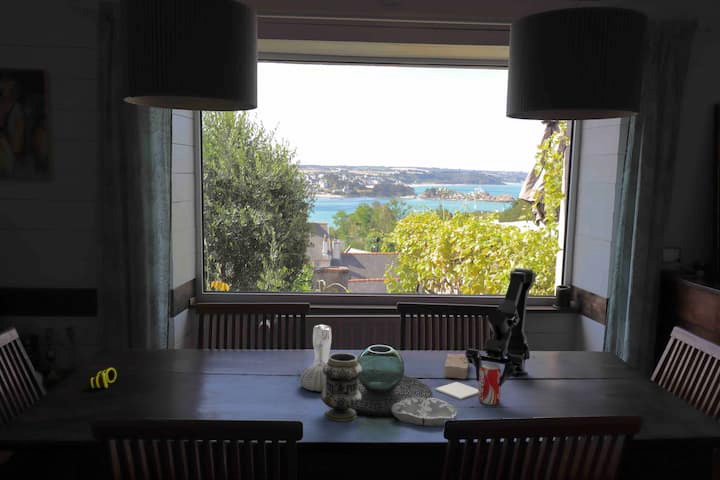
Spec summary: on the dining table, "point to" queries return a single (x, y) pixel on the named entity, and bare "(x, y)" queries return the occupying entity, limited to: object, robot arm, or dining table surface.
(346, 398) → the apothecary jar
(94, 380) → the yellow coil spring
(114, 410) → the dining table surface
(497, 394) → the soda can
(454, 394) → the pad
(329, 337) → the beer glass
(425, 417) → the brain slice
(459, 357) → the brick
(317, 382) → the sea urchin shell
